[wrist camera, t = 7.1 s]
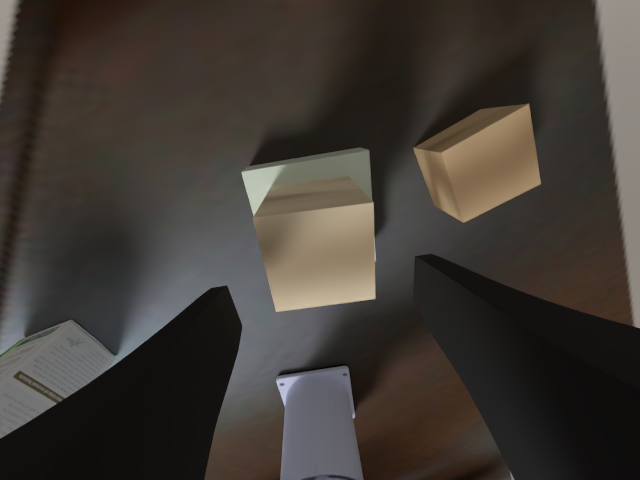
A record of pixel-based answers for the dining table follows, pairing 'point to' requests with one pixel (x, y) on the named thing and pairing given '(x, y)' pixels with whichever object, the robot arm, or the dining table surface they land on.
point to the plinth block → (308, 172)
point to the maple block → (317, 243)
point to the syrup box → (47, 371)
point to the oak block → (480, 161)
